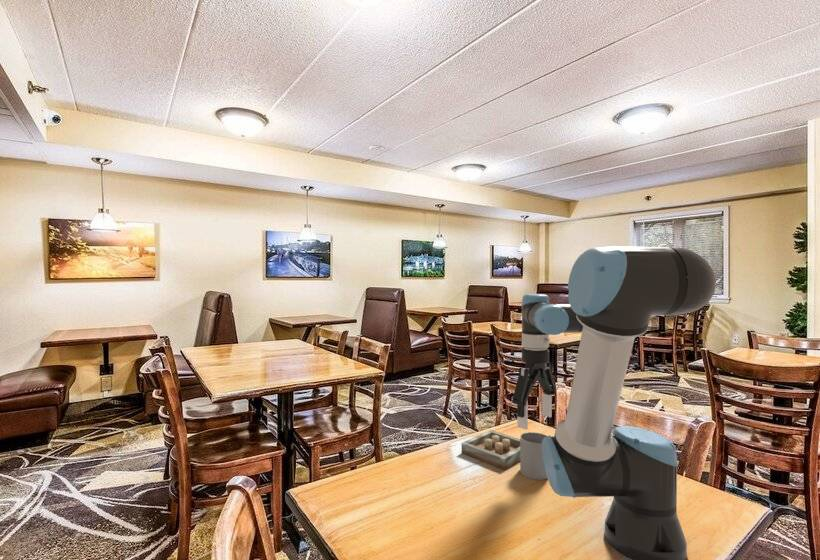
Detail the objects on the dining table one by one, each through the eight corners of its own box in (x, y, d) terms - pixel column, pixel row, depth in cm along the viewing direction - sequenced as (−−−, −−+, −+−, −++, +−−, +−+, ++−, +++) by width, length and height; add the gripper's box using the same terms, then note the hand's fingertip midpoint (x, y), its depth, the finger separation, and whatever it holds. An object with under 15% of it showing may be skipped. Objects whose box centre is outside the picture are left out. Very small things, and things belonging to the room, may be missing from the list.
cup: (547, 466, 123) (547, 432, 123) (553, 480, 115) (554, 444, 115) (518, 465, 124) (518, 431, 124) (522, 478, 116) (522, 443, 116)
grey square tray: (504, 469, 121) (504, 455, 121) (461, 453, 133) (461, 439, 133) (532, 453, 132) (532, 440, 132) (490, 439, 144) (490, 427, 144)
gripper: (523, 356, 108) (523, 437, 108) (568, 344, 125) (567, 414, 126) (499, 352, 113) (499, 429, 114) (544, 341, 131) (544, 408, 131)
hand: (535, 421), depth 120 cm, fingers open, 13 cm apart
